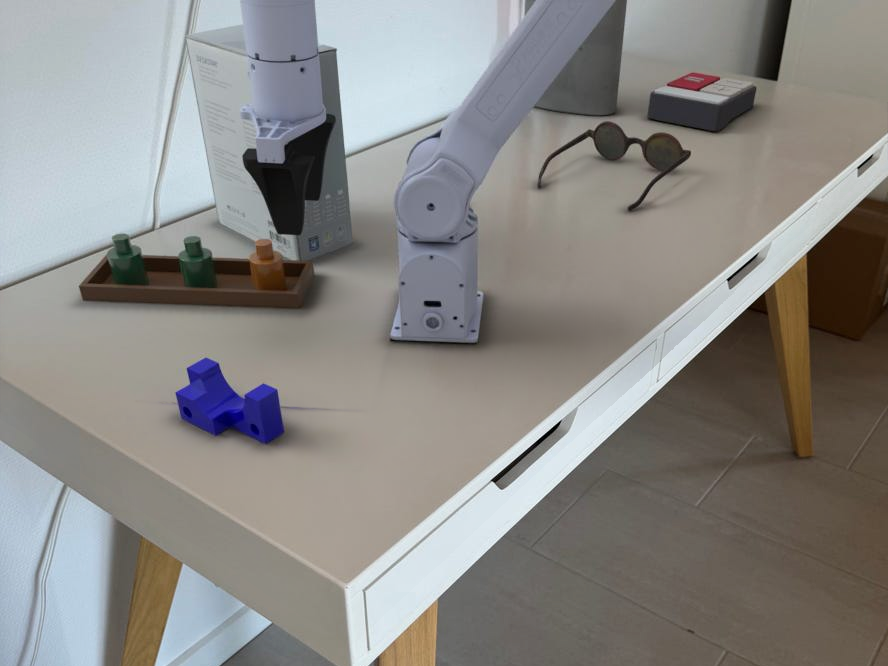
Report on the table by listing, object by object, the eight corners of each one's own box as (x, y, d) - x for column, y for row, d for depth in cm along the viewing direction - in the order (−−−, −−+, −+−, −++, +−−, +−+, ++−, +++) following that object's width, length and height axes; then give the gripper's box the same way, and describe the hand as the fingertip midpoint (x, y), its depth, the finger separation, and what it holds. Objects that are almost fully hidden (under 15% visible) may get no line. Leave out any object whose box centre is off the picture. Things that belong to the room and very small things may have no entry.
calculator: (759, 81, 136) (722, 100, 126) (752, 111, 139) (716, 132, 128) (690, 69, 141) (650, 87, 131) (685, 98, 143) (645, 118, 133)
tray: (299, 312, 87) (297, 294, 86) (83, 303, 88) (78, 285, 87) (315, 278, 93) (313, 260, 91) (111, 270, 94) (107, 253, 92)
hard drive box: (356, 245, 99) (340, 48, 86) (299, 267, 94) (274, 63, 82) (271, 206, 107) (245, 20, 94) (215, 224, 103) (180, 32, 90)
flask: (514, 105, 138) (518, -45, 125) (528, 95, 142) (534, -52, 129) (608, 119, 133) (622, -36, 120) (620, 108, 137) (635, -43, 125)
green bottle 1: (142, 292, 89) (130, 244, 86) (110, 291, 89) (97, 243, 86) (153, 277, 91) (142, 230, 88) (122, 276, 92) (110, 229, 88)
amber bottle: (282, 297, 88) (275, 249, 85) (250, 296, 88) (242, 248, 85) (290, 282, 91) (283, 235, 88) (258, 281, 91) (251, 234, 88)
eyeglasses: (687, 175, 116) (693, 135, 113) (636, 213, 106) (641, 171, 103) (586, 153, 122) (589, 114, 119) (529, 187, 112) (531, 146, 109)
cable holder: (181, 418, 73) (171, 376, 71) (214, 398, 75) (205, 357, 73) (251, 453, 70) (243, 410, 67) (284, 432, 72) (277, 389, 69)
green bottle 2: (212, 295, 89) (203, 247, 86) (180, 293, 89) (170, 245, 86) (222, 280, 91) (213, 232, 88) (190, 279, 91) (180, 231, 88)
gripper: (256, 29, 79) (274, 183, 87) (207, 75, 67) (233, 247, 76) (337, 32, 78) (347, 186, 87) (301, 80, 67) (316, 251, 76)
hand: (299, 215), depth 82 cm, fingers open, 7 cm apart
